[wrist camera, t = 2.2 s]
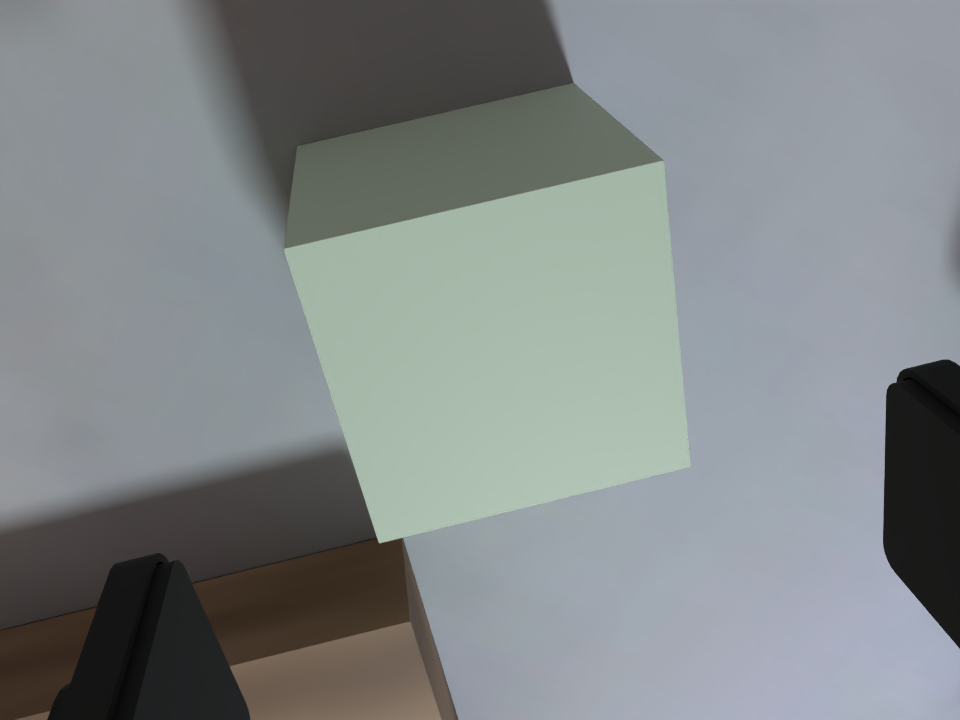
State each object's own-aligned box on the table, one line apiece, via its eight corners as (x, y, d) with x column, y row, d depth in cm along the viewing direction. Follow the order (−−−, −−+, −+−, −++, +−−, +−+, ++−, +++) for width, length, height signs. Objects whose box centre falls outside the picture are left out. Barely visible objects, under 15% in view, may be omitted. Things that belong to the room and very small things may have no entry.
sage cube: (297, 144, 17) (283, 249, 12) (572, 81, 17) (664, 160, 13) (367, 383, 20) (378, 543, 15) (605, 326, 20) (690, 467, 15)
